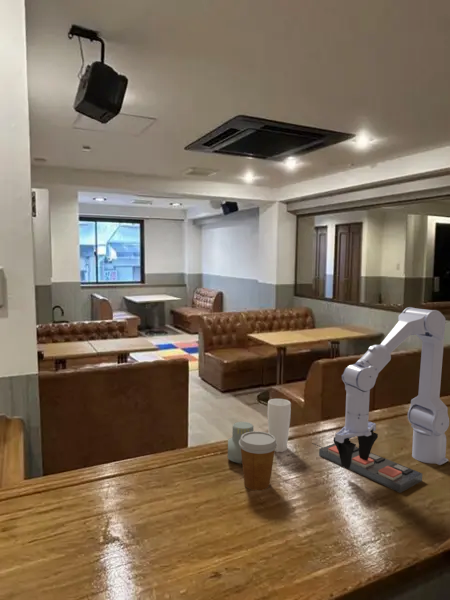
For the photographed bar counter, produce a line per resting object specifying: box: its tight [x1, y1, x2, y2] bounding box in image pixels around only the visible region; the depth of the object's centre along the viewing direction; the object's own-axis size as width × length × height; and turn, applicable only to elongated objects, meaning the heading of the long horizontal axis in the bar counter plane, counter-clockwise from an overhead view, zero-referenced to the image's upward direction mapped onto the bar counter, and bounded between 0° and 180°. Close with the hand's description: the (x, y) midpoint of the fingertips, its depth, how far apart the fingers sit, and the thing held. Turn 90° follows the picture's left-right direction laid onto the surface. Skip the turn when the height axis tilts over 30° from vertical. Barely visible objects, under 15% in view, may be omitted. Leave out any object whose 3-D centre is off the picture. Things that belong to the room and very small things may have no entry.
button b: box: [352, 456, 374, 468], centre depth 116 cm, size 4×4×3 cm
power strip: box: [311, 442, 423, 494], centre depth 120 cm, size 10×32×4 cm, turn 37°
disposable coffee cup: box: [239, 430, 277, 491], centre depth 109 cm, size 10×10×12 cm
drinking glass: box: [267, 398, 292, 453], centre depth 128 cm, size 7×7×15 cm
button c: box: [378, 466, 402, 481], centre depth 109 cm, size 4×4×3 cm
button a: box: [328, 446, 340, 457], centre depth 122 cm, size 4×4×3 cm
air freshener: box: [227, 421, 254, 465], centre depth 123 cm, size 11×8×10 cm
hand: (354, 462), depth 113 cm, fingers open, 7 cm apart
